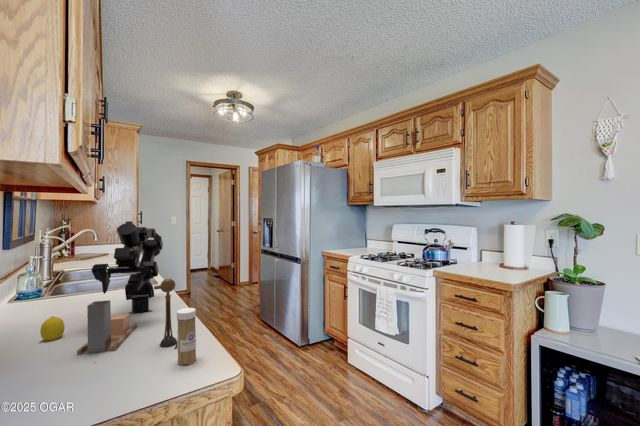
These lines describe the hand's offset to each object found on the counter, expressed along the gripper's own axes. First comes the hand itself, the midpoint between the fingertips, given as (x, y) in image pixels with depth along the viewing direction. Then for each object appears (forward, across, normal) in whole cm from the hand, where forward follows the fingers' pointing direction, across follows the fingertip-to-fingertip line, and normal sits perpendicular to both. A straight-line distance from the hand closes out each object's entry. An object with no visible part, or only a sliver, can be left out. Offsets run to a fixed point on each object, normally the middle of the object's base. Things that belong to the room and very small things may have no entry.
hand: (120, 291), depth 98 cm
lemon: (+9, -18, +11) cm, 23 cm away
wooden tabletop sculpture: (+21, +16, 0) cm, 27 cm away
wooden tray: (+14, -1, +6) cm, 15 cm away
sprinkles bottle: (+29, +22, -7) cm, 37 cm away
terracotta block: (+9, -1, +9) cm, 13 cm away
